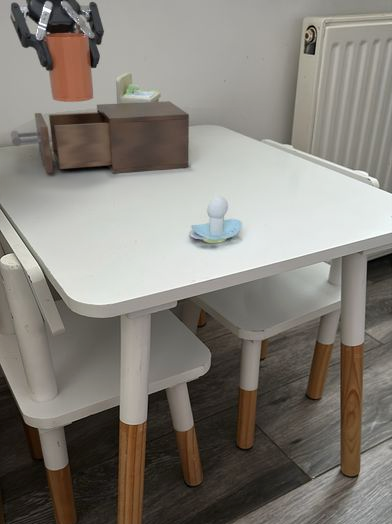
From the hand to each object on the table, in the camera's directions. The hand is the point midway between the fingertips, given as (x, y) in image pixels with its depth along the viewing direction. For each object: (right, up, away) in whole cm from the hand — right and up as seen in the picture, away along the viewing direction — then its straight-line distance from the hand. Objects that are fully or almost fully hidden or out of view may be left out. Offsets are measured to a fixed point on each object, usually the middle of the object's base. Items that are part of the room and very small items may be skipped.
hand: (72, 65), depth 87 cm
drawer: (-5, -9, +18) cm, 21 cm away
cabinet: (+9, -8, +22) cm, 25 cm away
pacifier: (+22, -29, -8) cm, 37 cm away
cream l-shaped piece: (+7, +1, +35) cm, 36 cm away
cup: (-1, -3, +4) cm, 5 cm away
